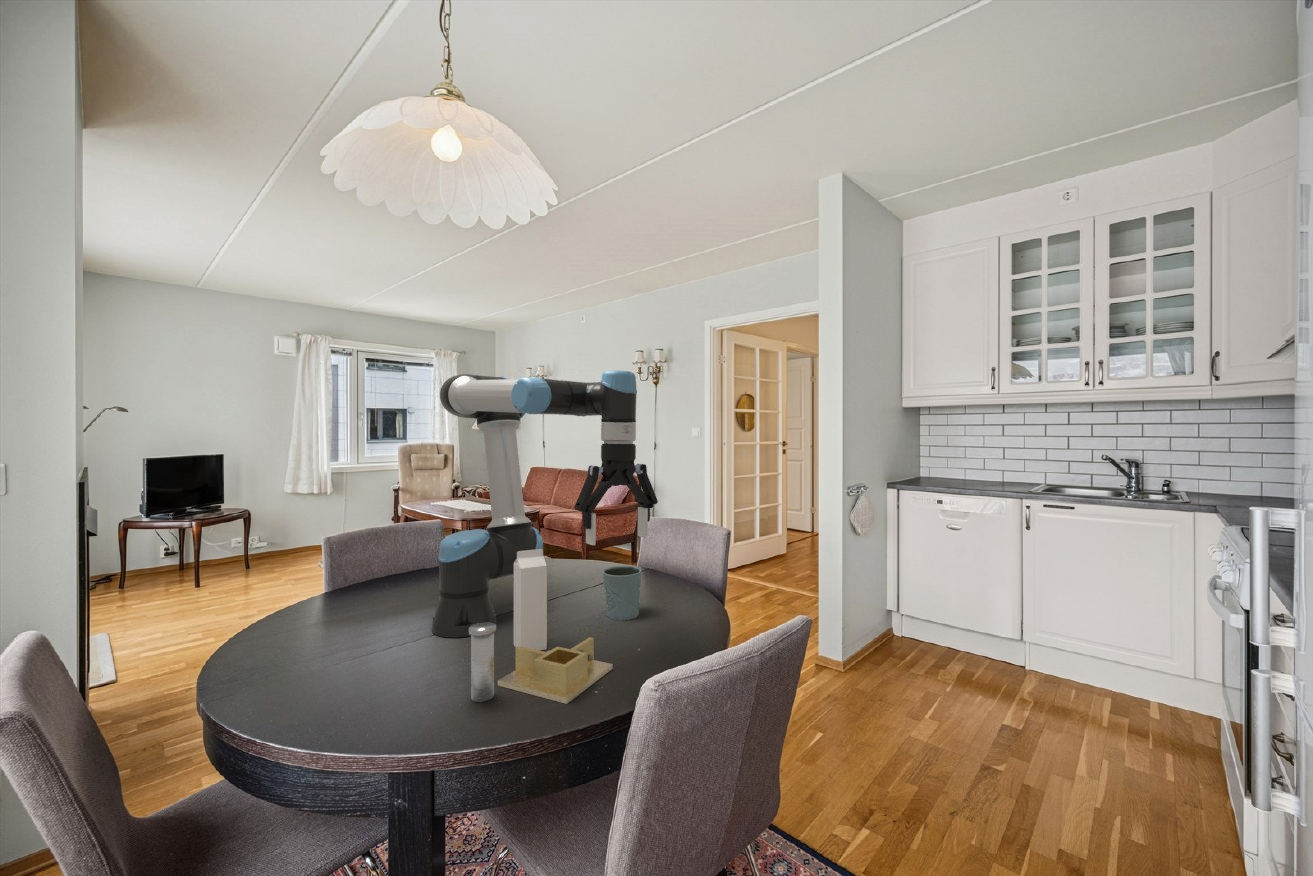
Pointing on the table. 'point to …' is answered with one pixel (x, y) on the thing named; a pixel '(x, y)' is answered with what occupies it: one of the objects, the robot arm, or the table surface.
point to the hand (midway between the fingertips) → (617, 540)
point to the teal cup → (622, 592)
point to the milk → (530, 600)
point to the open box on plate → (556, 671)
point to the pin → (482, 661)
